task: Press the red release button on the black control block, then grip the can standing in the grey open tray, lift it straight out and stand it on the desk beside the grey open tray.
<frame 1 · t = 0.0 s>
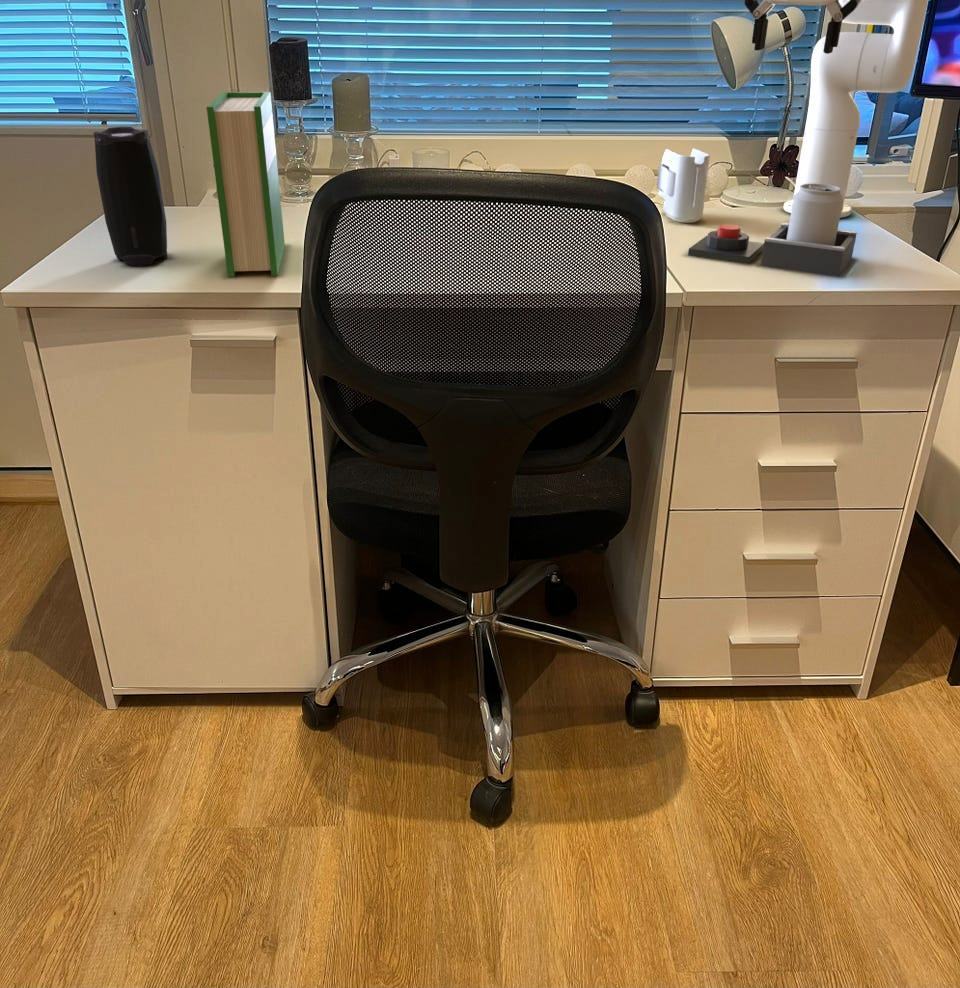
hand: (792, 51, 133), 31 cm above the table, tool pointing down, fingers open, 9 cm apart
cable organizer: (679, 218, 178), on the table
hardback book: (258, 261, 150), on the table
control block: (725, 253, 156), on the table
grey open tray: (806, 262, 151), on the table
release button: (728, 232, 154), point 3 cm above the table, slide at 0.1 cm
can: (806, 263, 151), resting in grey open tray
portable speaker: (143, 261, 149), on the table
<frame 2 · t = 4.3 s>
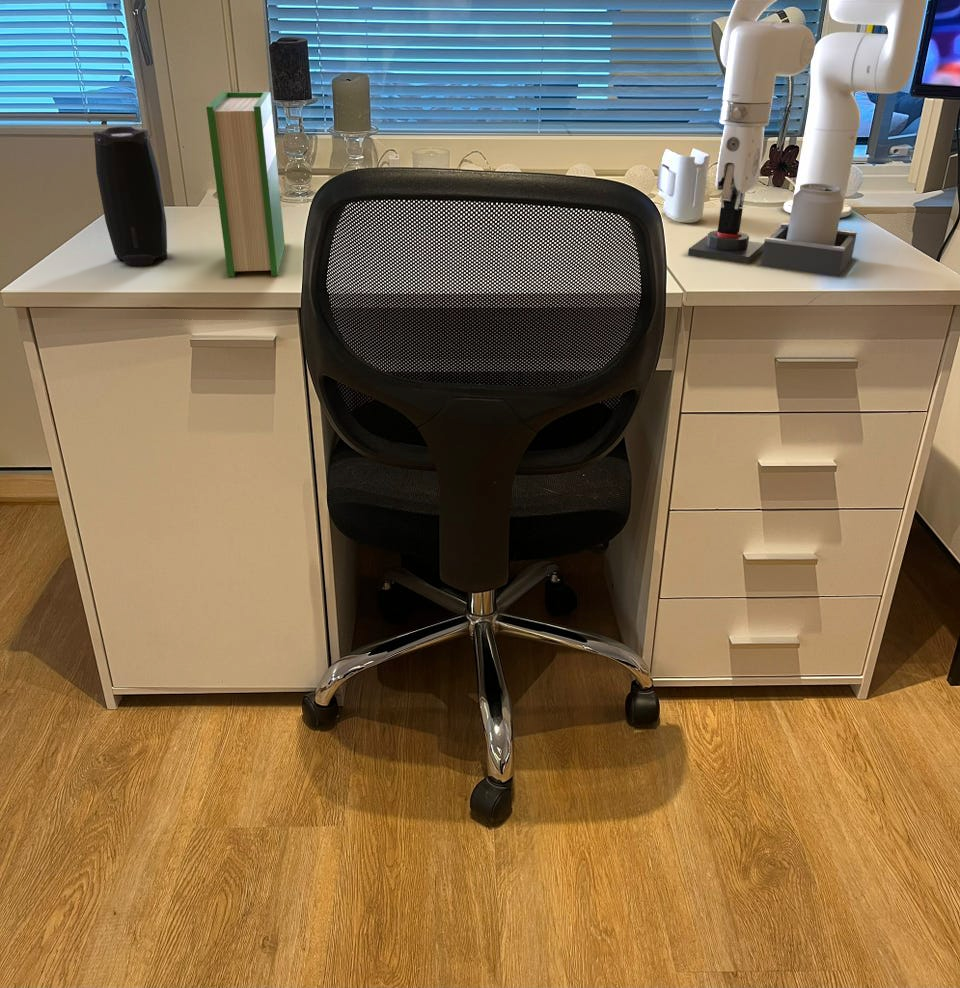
hand: (728, 232, 154), 3 cm above the table, tool pointing down, fingers closed
release button: (728, 237, 155), point 3 cm above the table, slide at -0.9 cm, touching gripper
everything else where it was.
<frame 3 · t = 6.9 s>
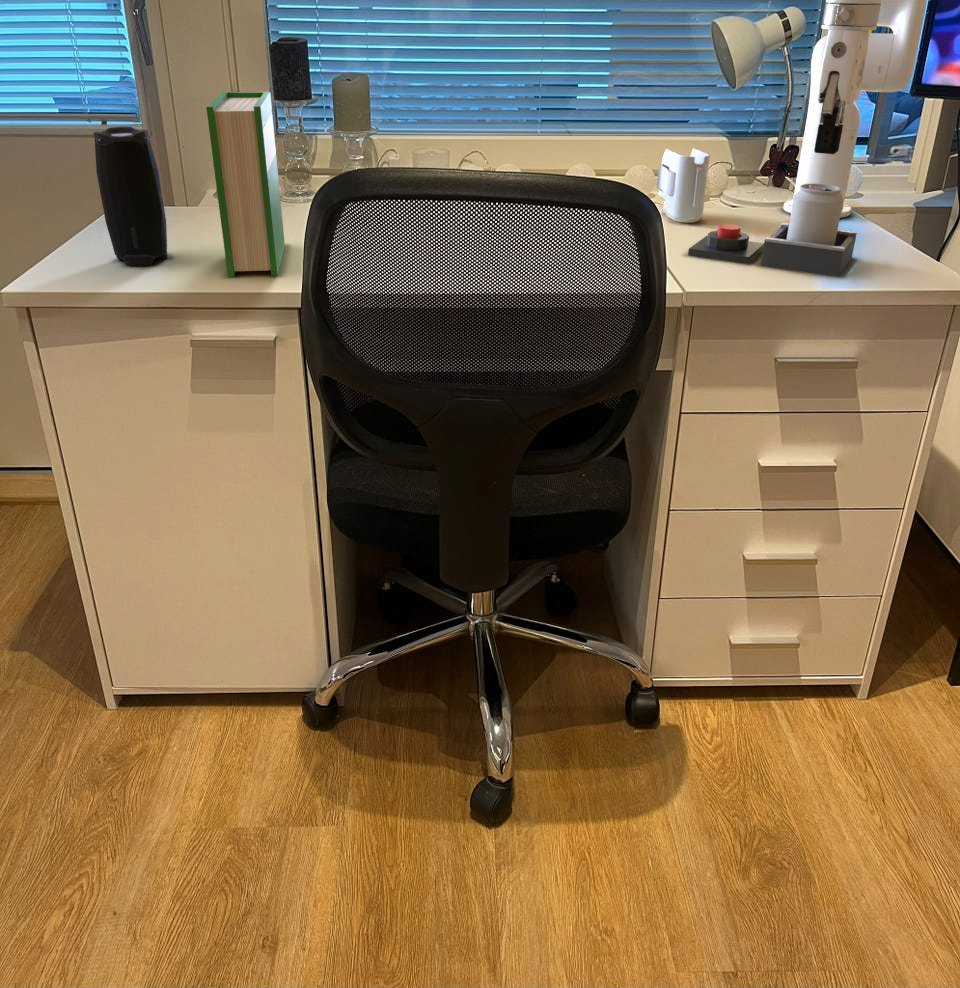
hand: (826, 151, 143), 17 cm above the table, tool pointing down, fingers closed
release button: (728, 232, 154), point 3 cm above the table, slide at 0.1 cm
everything else where it was.
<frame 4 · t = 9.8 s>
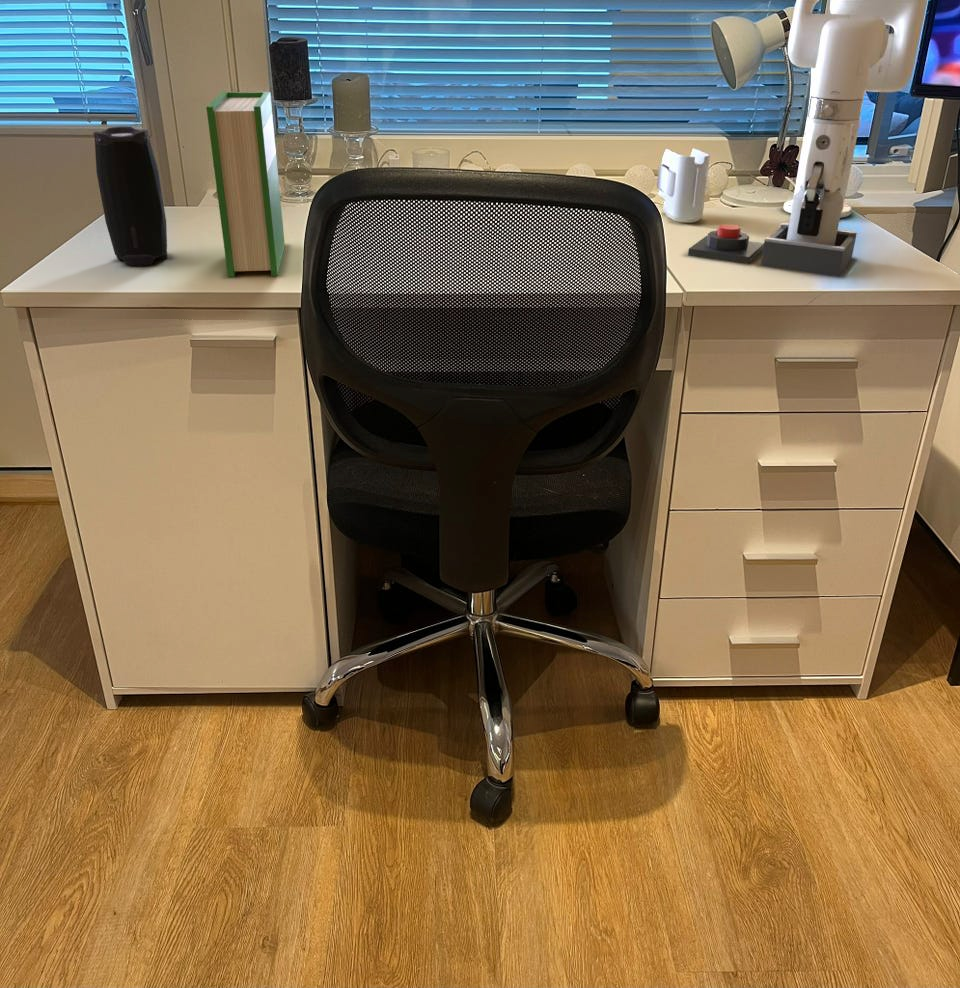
hand: (812, 228, 149), 5 cm above the table, tool pointing down, fingers closed on can, 7 cm apart
can: (806, 263, 151), resting in grey open tray, touching gripper
everything else where it was.
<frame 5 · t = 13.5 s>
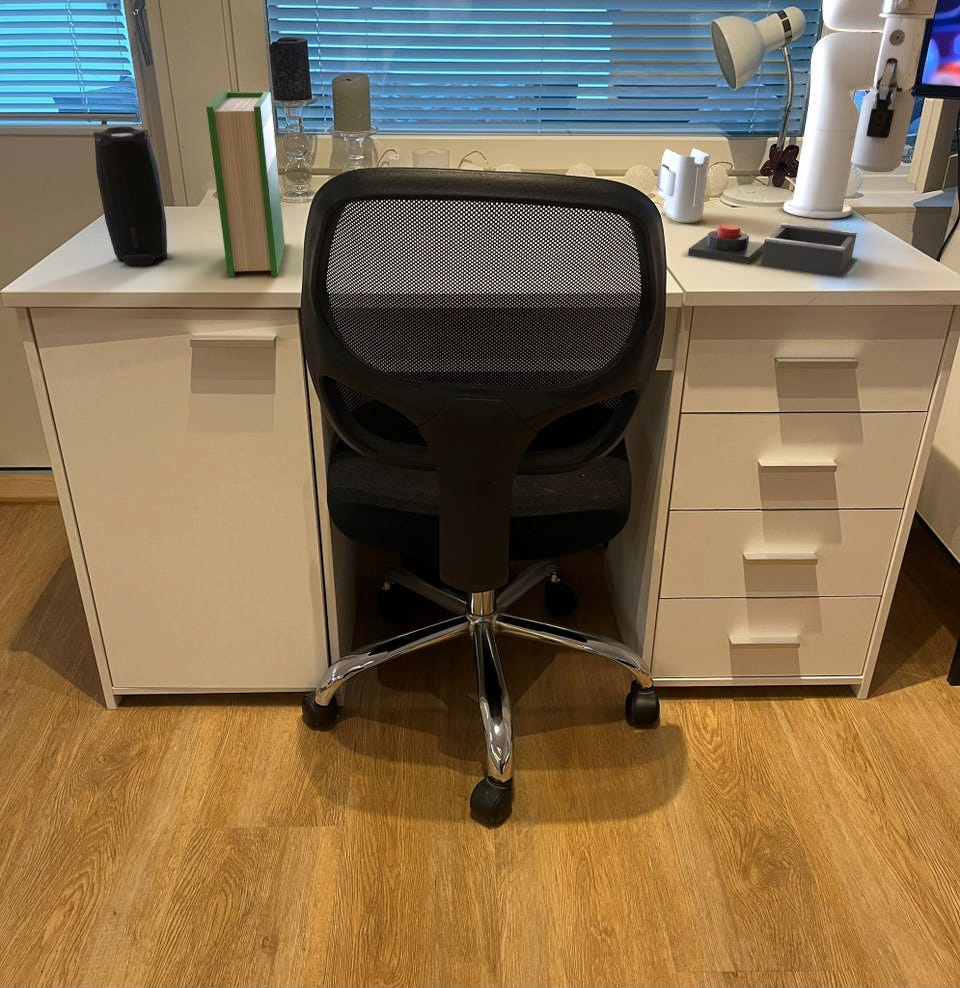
hand: (881, 132, 146), 19 cm above the table, tool pointing down, fingers closed on can, 7 cm apart
can: (873, 170, 149), point 14 cm above the table, touching gripper
everything else where it was.
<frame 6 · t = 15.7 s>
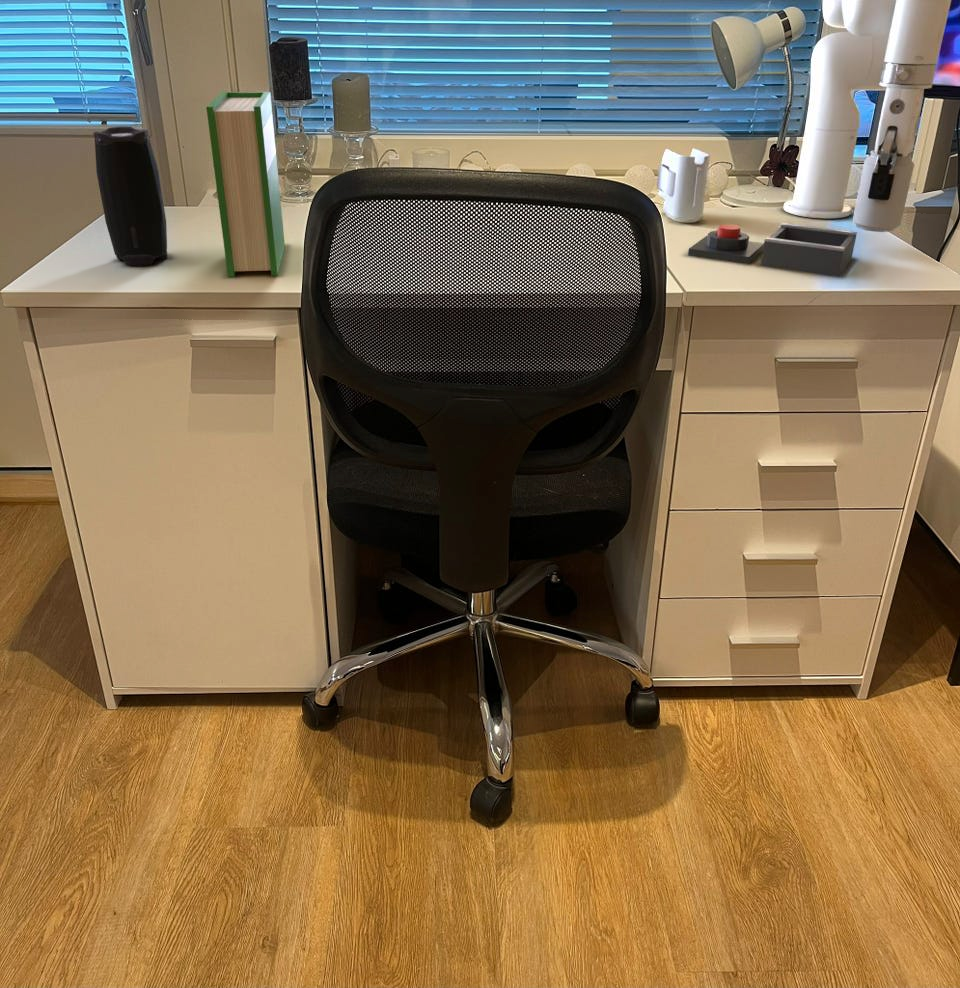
hand: (882, 193, 152), 10 cm above the table, tool pointing down, fingers closed on can, 7 cm apart
can: (874, 228, 154), point 4 cm above the table, touching gripper
everything else where it was.
when the fingers open (5 cm above the table, at t = 17.4 s): can stays where it is, on the table.
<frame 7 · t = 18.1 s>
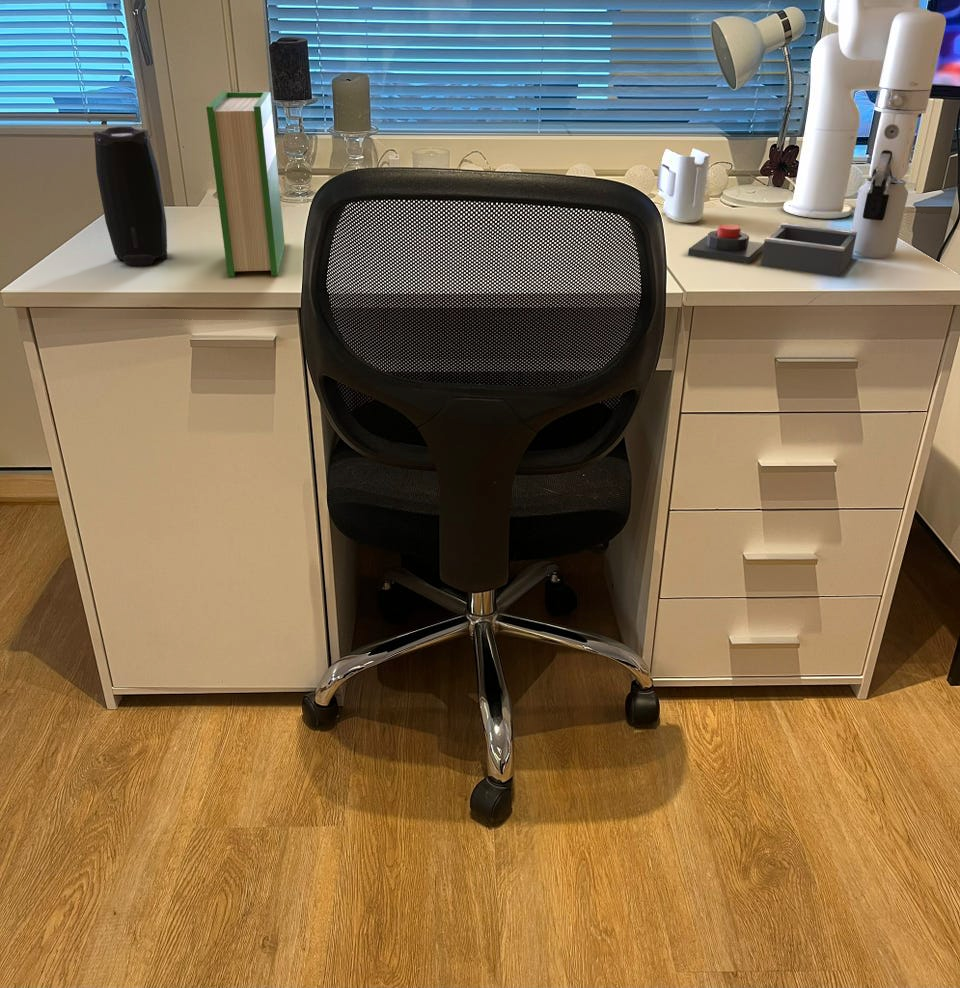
hand: (877, 213, 153), 7 cm above the table, tool pointing down, fingers open, 9 cm apart
can: (869, 254, 156), on the table
everything else where it was.
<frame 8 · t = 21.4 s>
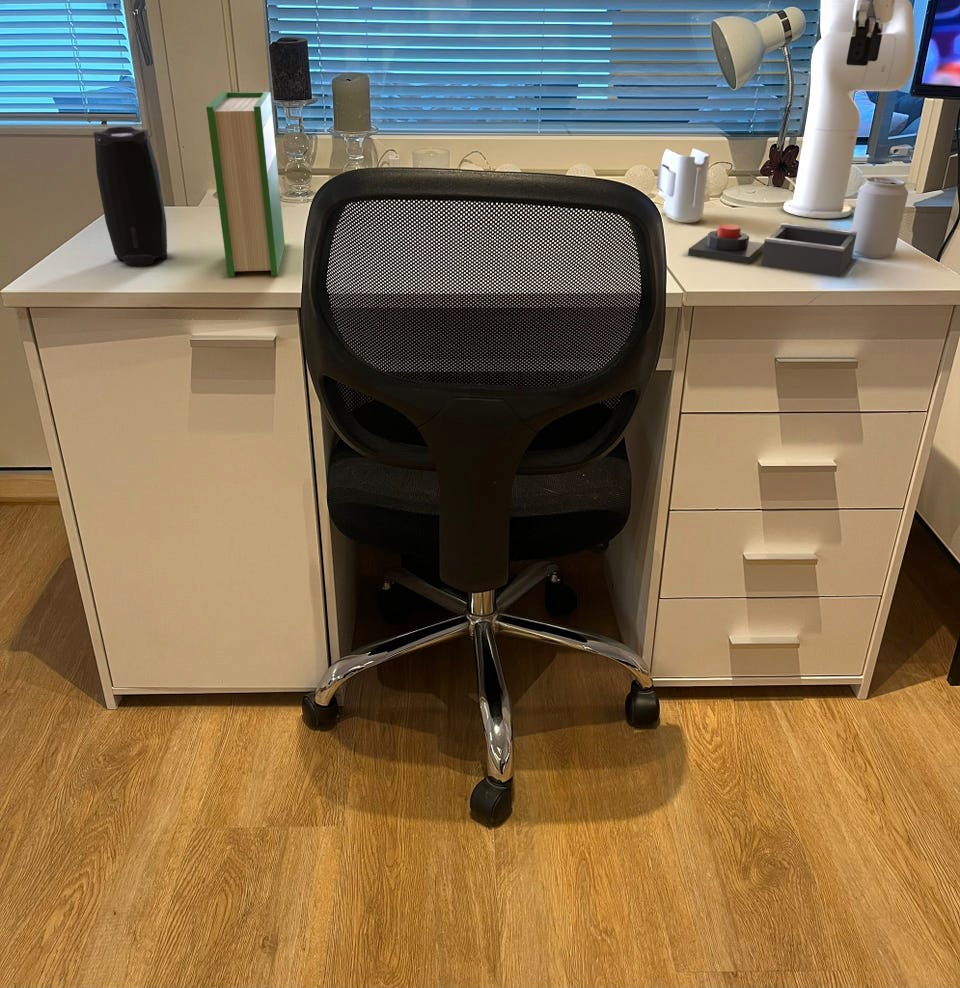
hand: (861, 62, 151), 28 cm above the table, tool pointing down, fingers open, 9 cm apart
nothing on the table moved.
at the end: release button pushed in 1.1 cm at the most during the clip, back to where it started at the end; can inside the target area (0.1 cm from its centre), on the table; can tilted 0° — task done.
